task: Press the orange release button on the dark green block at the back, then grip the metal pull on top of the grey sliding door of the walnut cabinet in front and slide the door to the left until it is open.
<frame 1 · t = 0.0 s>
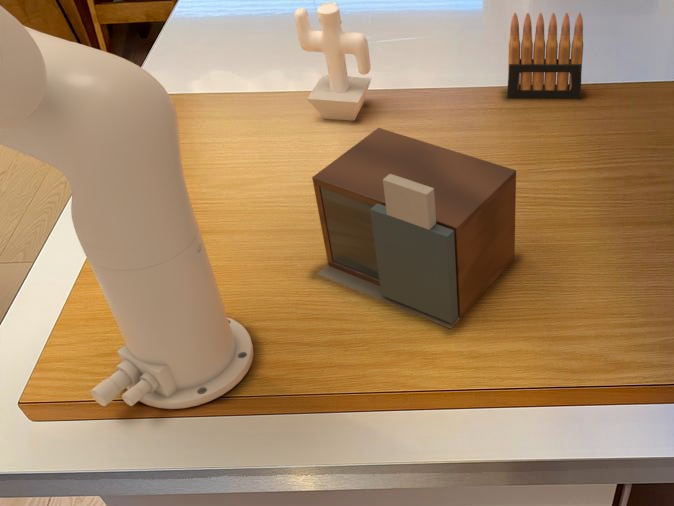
button block: (377, 186, 104), on the kitchen island
cabinet: (421, 262, 93), on the kitchen island
figurine: (343, 113, 117), on the kitchen island
ammunition clip: (543, 96, 120), on the kitchen island
grey sliding door: (414, 249, 81), point 8 cm above the kitchen island, slide at 0.0 cm
button: (373, 155, 100), point 4 cm above the kitchen island, slide at 0.1 cm
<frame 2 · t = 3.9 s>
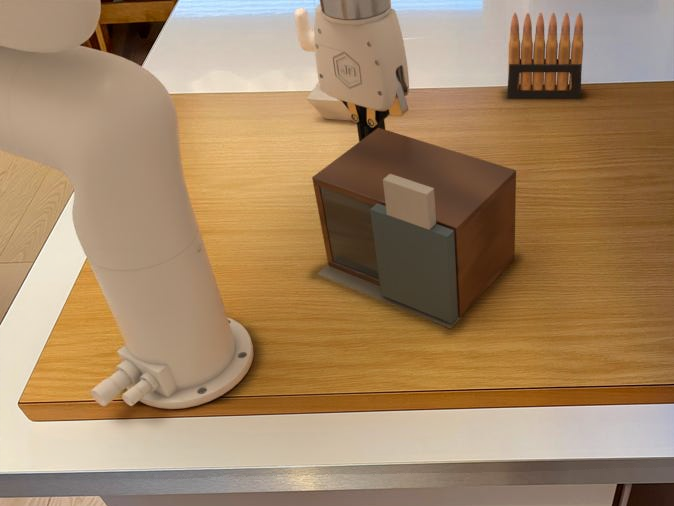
hand: (373, 149, 100), 5 cm above the kitchen island, tool pointing down, fingers closed
button: (373, 156, 101), point 4 cm above the kitchen island, slide at -0.1 cm, touching gripper
everything else where it was.
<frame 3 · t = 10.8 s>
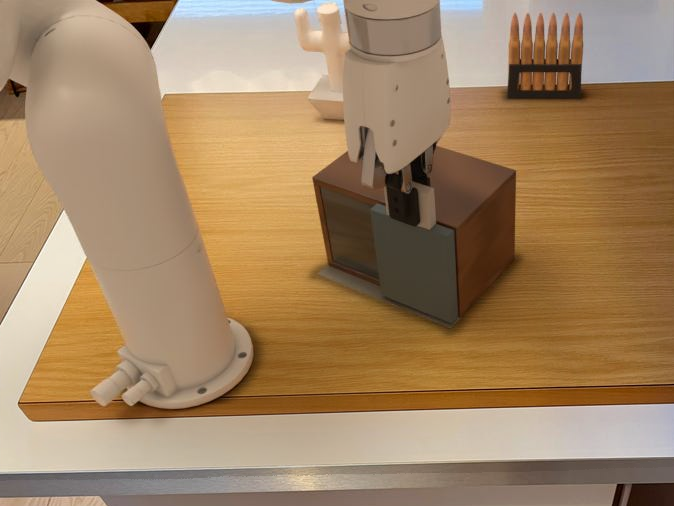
hand: (410, 214, 78), 12 cm above the kitchen island, tool pointing down, fingers closed
grey sliding door: (414, 249, 81), point 8 cm above the kitchen island, slide at 0.0 cm, touching gripper
button: (373, 155, 100), point 4 cm above the kitchen island, slide at 0.1 cm
everything else where it was.
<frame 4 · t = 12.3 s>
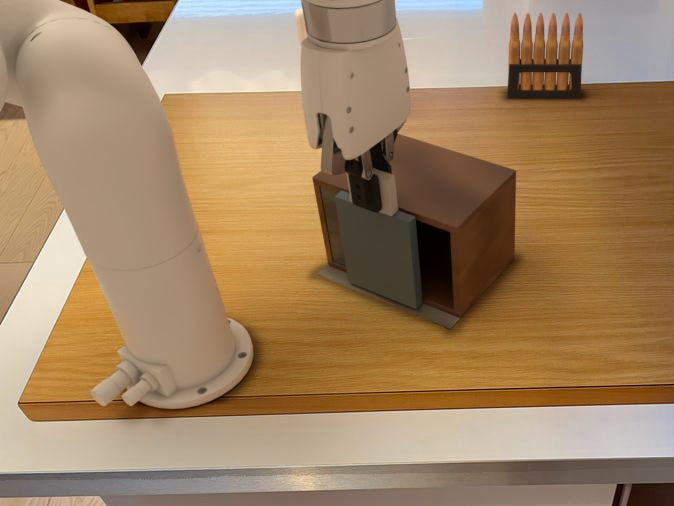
hand: (373, 201, 80), 12 cm above the kitchen island, tool pointing down, fingers closed
grey sliding door: (378, 235, 83), point 8 cm above the kitchen island, slide at 4.4 cm, touching gripper
everything else where it was.
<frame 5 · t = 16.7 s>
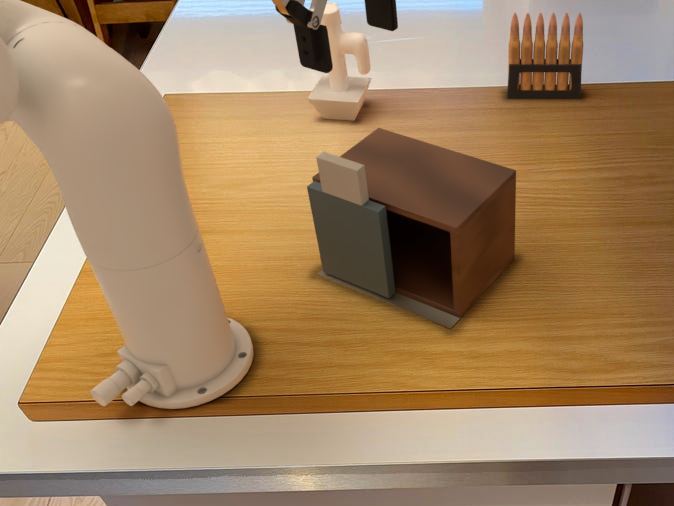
hand: (351, 47, 74), 25 cm above the kitchen island, tool pointing down, fingers open, 9 cm apart
grey sliding door: (350, 225, 84), point 8 cm above the kitchen island, slide at 8.0 cm
everything else where it was.
at the end: button pushed in 1.1 cm at the most during the clip, back to where it started at the end; button slide at 0.1 cm; grey sliding door slide at 8.0 cm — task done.
